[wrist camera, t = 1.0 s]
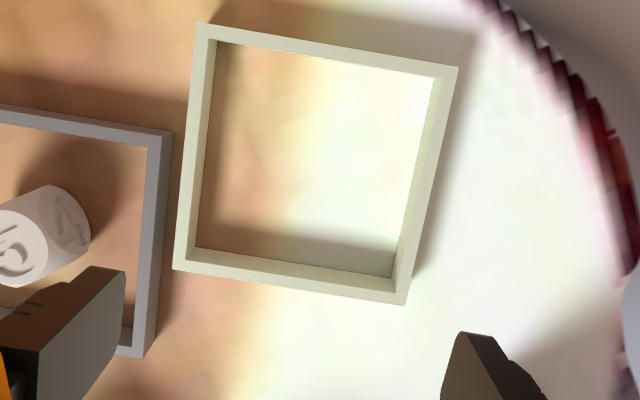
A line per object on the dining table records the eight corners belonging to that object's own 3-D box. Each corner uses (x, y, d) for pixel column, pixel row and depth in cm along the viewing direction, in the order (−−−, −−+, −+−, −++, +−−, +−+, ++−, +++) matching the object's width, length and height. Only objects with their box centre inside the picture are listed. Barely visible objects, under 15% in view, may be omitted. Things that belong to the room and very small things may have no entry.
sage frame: (449, 67, 32) (459, 67, 29) (399, 290, 35) (404, 306, 33) (206, 25, 31) (196, 21, 29) (182, 255, 35) (171, 269, 33)
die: (65, 177, 34) (21, 194, 29) (101, 241, 35) (65, 268, 30) (3, 205, 34) (-50, 227, 30) (41, 267, 35) (-4, 298, 31)
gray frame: (174, 131, 33) (161, 136, 30) (154, 340, 37) (142, 359, 34) (-64, 92, 32) (-95, 93, 30) (-58, 307, 36) (-86, 324, 34)
